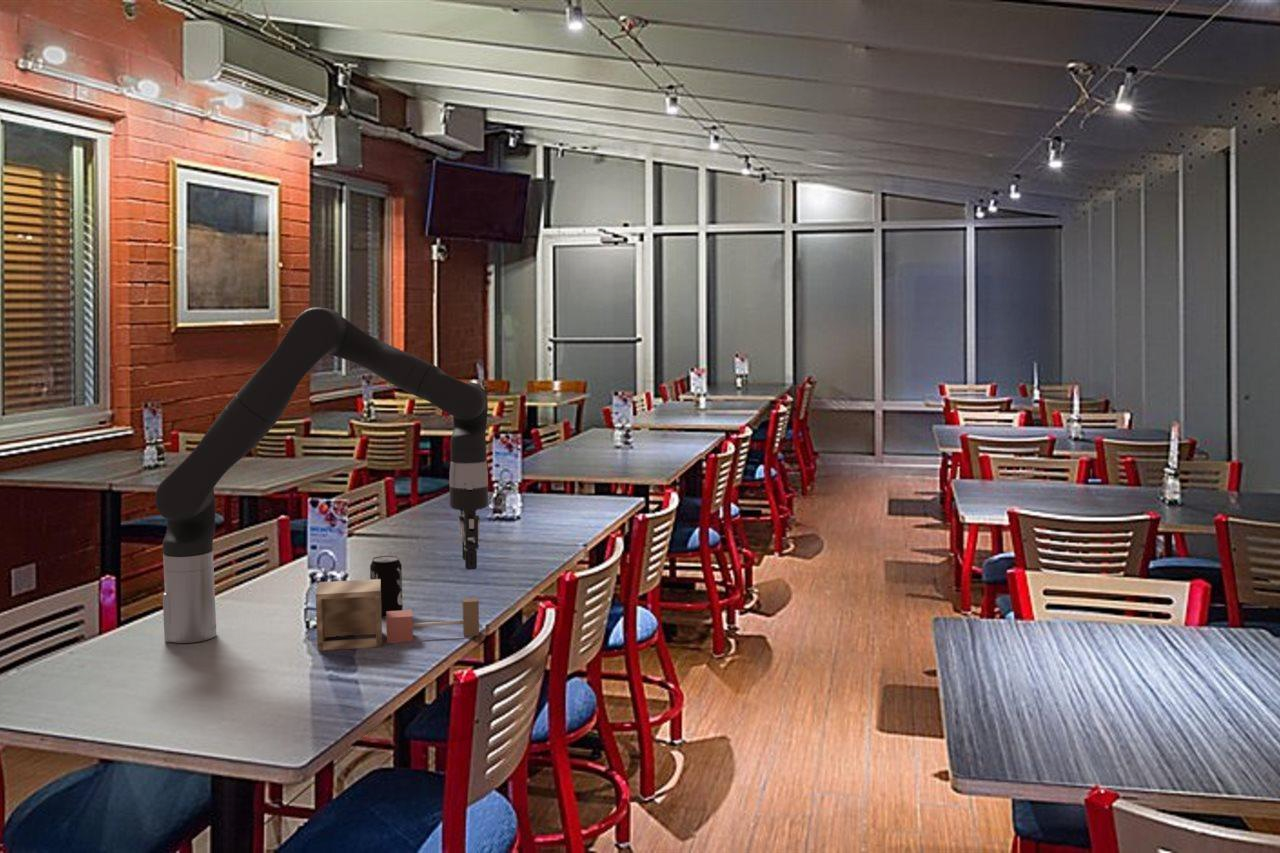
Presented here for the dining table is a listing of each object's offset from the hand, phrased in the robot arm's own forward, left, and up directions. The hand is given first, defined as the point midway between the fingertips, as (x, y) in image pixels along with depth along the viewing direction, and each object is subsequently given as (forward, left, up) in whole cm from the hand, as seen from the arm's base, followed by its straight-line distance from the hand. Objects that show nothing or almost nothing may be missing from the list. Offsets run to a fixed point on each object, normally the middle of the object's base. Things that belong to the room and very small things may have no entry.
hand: (469, 564), depth 232 cm
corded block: (-7, 0, -14) cm, 16 cm away
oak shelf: (-23, 0, -14) cm, 27 cm away
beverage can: (-16, +20, -15) cm, 30 cm away
